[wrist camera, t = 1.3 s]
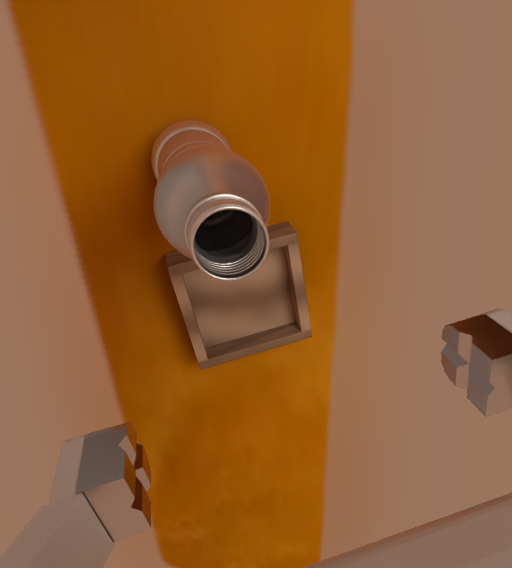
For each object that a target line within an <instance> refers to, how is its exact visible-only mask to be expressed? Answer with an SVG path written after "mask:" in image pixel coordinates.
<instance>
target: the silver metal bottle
mask: <svg viewBox="0 0 512 568" xmlns="http://www.w3.org/2000/svg"><path fill="white" fill-rule="evenodd" d="M151 163H152V170H153V173H154V176H155V178H156V180H157V185H156V188H155V192H154V202H153V206H154V215H155V218H156V222H157V225H158V227H159V229H160V231H161V233H162V234H163V236H164V237H165V239H166V240H167V241H168V242H169V243H170V244H171V245H172V246H173V247H174V248H175V249H177V250H178V251H179V252H180V253H182V254H183V255H185V256H187V257H188V258H190V259H192V260H194V262H195V263H196V265H197V266H198V267H199V268H200V269H201V271H203V272H204V273H205V274H206V275H208V276H210V277H212V278H214V279H217V280H220V281H237V280H241V279H244V278H246V277H249V276H250V275H252V274H253V273H255V272H256V271H257V270H258V269H259V268H260V267H261V266H262V264H263V263H264V261H265V259H266V257H267V255H268V251H269V235H268V230H267V224H268V219H269V204H270V201H269V196H268V190H267V188H266V185H265V183H264V180H263V178H262V177H261V175H260V174H259V172H258V171H257V170H256V168H255V167H254V166H253V165H252V164H251V163H250V162H249V161H247V160H246V159H244V158H243V157H241V156H240V155H238V154H237V153H234V152H232V150H231V148H230V146H229V143H228V142H227V140H226V139H225V137H224V136H223V135H222V134H221V133H220V132H219V131H218V130H217V129H215V128H214V127H213V126H211V125H209V124H207V123H205V122H202V121H197V120H183V121H178V122H176V123H173V124H171V125H170V126H168V127H167V128H165V129H164V130H163V131H162V132H161V133H160V135H159V136H158V137H157V139H156V141H155V143H154V146H153V149H152V155H151Z"/></svg>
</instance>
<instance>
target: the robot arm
mask: <svg viewBox="0 0 512 568" xmlns="http://www.w3.org/2000/svg"><path fill="white" fill-rule="evenodd" d="M442 339H443V340H444V341H445V342H447V345H446V346H445V347H444V349H443V350H442V352H441V355H442V356H441V357H442V360H441V362H442V365H443V368H444V371H445V373H446V374H447V376H448V378H449V379H450V380H451V381H452V382H453V383H454V385H455V386H457V387H460V388H462V389H465V390H467V398H468V399H469V400H470V401H471V402H472V403H473V404H474V406H476V408H478V410H479V411H480V412H481V413H482V414H483V415H484V416H485V417H487V416H490V415H493V414H497V413H500V412H503V411H506V410H509V409H512V314H510V313H509V312H508V311H506V310H504V309H500V308H498V309H494V310H491V311H488V312H485V313H482V314H480V315H477V316H474V317H470V318H467V319H464V320H461V321H457V322H454V323H451V324H448V325H445V327H444V329H443V331H442ZM150 486H151V473H150V466H149V461H148V458H147V454H146V451H145V449H144V447H143V445H141V444H139V443H137V432H136V430H135V428H134V427H133V425H132V423H130V422H128V423H124V424H121V425H117V426H113V427H110V428H106V429H103V430H99V431H96V432H92V433H89V434H87V435H84V436H80V437H76V438H73V439H69V440H66V441H65V443H64V444H63V445H62V448H61V452H60V457H59V461H58V465H57V470H56V474H55V478H54V483H53V487H52V492H51V496H50V500H49V503H48V504H45V505H43V506H41V508H40V509H39V510H38V511H37V513H36V514H35V515H34V516H33V517H32V519H31V520H30V521H29V523H28V524H27V525H26V526H25V527H24V529H23V530H22V531H21V532H20V534H19V535H18V536H17V537H16V538H15V540H14V541H13V542H12V543H11V545H10V546H9V547H8V548H7V550H6V551H5V552H4V553H3V555H2V556H1V557H0V568H103V567H104V565H105V563H106V560H107V559H108V557H109V555H110V553H111V551H112V549H113V547H114V542H117V541H120V540H122V539H125V538H128V537H131V536H133V535H136V534H139V533H142V532H144V531H147V530H150V529H151V501H150V499H149V496H148V494H147V490H148V489H149V487H150ZM303 568H512V493H509V494H506V495H503V496H501V497H498V498H495V499H492V500H490V501H487V502H484V503H481V504H478V505H476V506H473V507H470V508H467V509H465V510H462V511H459V512H456V513H453V514H451V515H448V516H445V517H442V518H440V519H437V520H434V521H432V522H428V523H426V524H423V525H420V526H417V527H415V528H412V529H409V530H407V531H403V532H401V533H398V534H395V535H392V536H390V537H387V538H384V539H381V540H379V541H376V542H373V543H370V544H368V545H365V546H362V547H359V548H356V549H353V550H351V551H348V552H345V553H342V554H340V555H337V556H334V557H331V558H329V559H326V560H323V561H320V562H317V563H315V564H312V565H309V566H306V567H303Z"/></svg>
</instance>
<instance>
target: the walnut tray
mask: <svg viewBox="0 0 512 568" xmlns="http://www.w3.org/2000/svg"><path fill="white" fill-rule="evenodd" d="M267 230H268V235H269V251H268V255H267V257H266V259H265V261H264V263H263V264H262V266H261V267H260V268H259V269H258V270H257V271H256V272H255V273H253V274H252V275H250V276H249V277H246V278H244V279H241V280H237V281H220V280H217V279H214V278H212V277H210V276H208V275H206V274H205V273H204V272H203V271H201V269H200V268H199V267H198V266H197V265H196V263H195V262H194V260H192V259H190V258H188V257H187V256H185V255H183V254H182V253H180V252H179V251H174V252H170V253H166V263H167V269H168V272H169V275H170V278H171V281H172V284H173V287H174V290H175V293H176V296H177V300H178V303H179V306H180V309H181V312H182V315H183V318H184V321H185V324H186V327H187V330H188V333H189V336H190V339H191V342H192V345H193V348H194V351H195V354H196V357H197V360H198V363H199V366H200V370H202V369H205V368H209V367H212V366H215V365H219V364H222V363H225V362H229V361H232V360H235V359H239V358H242V357H246V356H249V355H252V354H256V353H259V352H262V351H266V350H269V349H272V348H276V347H279V346H283V345H286V344H289V343H293V342H296V341H299V340H303V339H306V338H309V337H312V333H311V326H310V319H309V312H308V306H307V299H306V292H305V285H304V278H303V271H302V264H301V257H300V250H299V244H298V237H297V232H296V231H295V230H294V229H293V227H292V226H291V225H290V224H289V223H288V222H284V223H280V224H276V225H273V226H269V227H267Z"/></svg>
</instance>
